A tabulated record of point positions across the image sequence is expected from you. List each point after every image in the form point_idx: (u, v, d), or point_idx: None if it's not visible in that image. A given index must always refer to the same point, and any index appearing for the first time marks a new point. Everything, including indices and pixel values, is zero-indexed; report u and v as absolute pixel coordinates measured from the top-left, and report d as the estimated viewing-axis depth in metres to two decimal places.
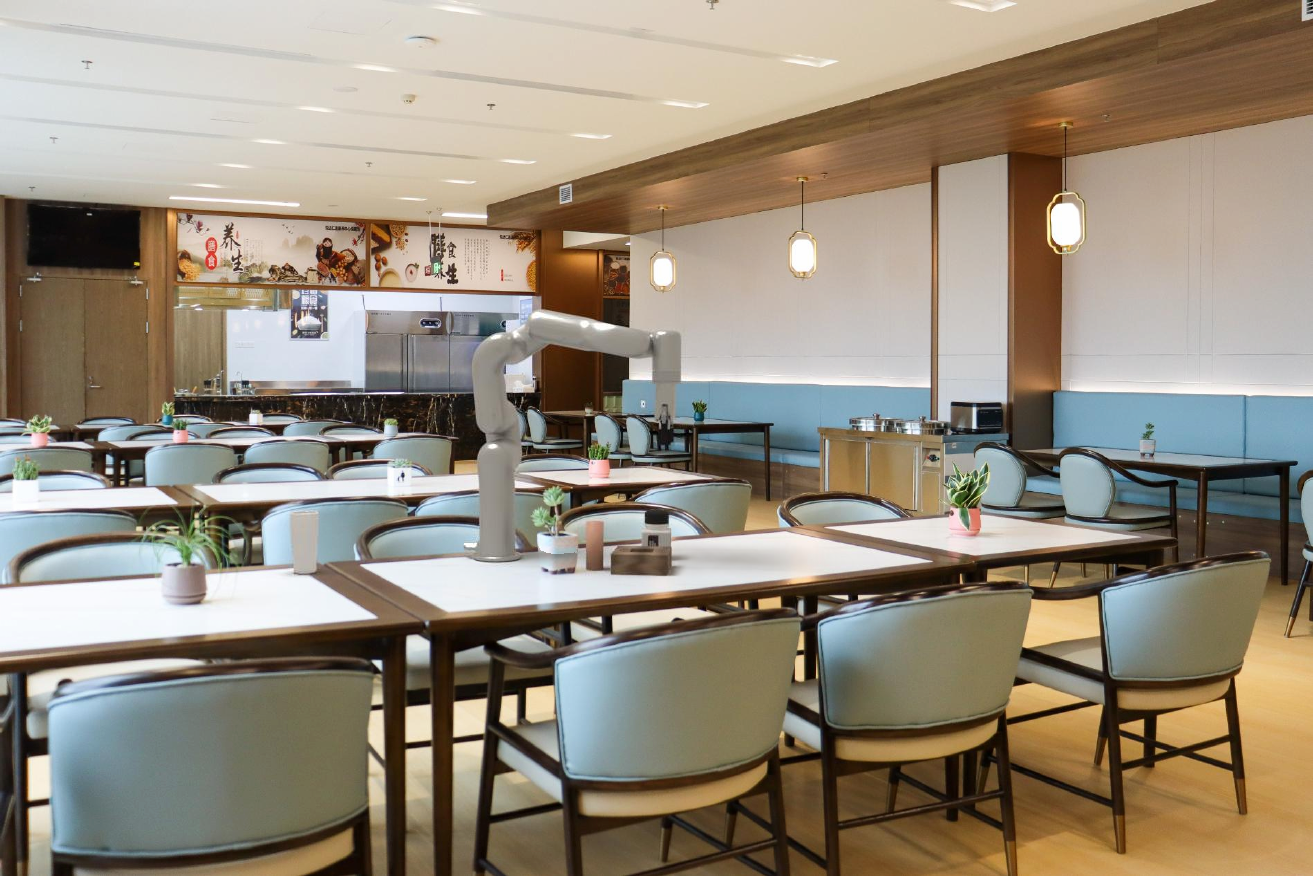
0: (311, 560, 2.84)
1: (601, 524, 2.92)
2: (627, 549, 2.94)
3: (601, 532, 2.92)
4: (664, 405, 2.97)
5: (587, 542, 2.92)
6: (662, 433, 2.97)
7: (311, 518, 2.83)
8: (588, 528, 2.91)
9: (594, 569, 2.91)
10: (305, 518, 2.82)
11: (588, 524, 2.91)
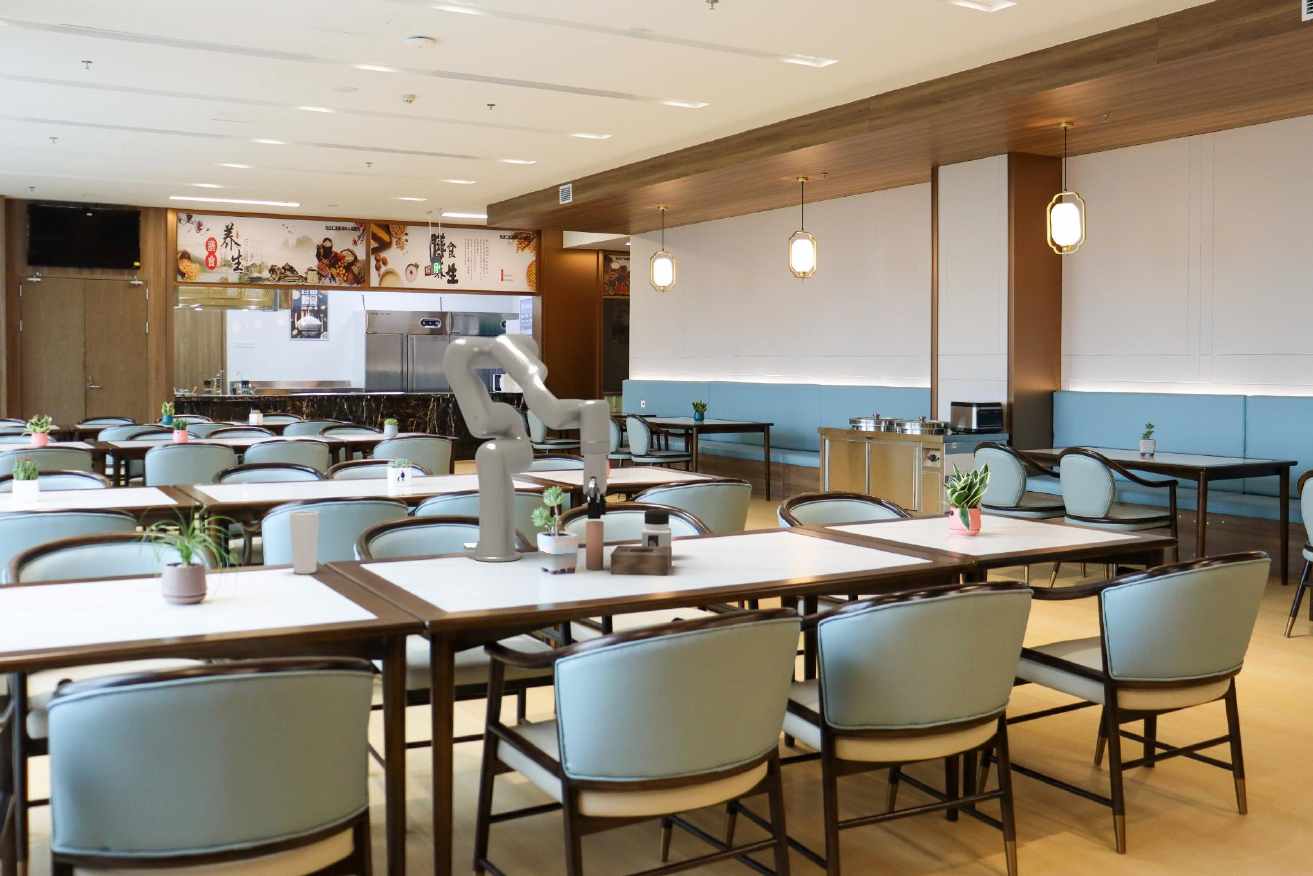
0: (311, 560, 2.84)
1: (601, 524, 2.92)
2: (627, 549, 2.94)
3: (601, 532, 2.92)
4: (593, 478, 2.87)
5: (587, 542, 2.92)
6: (591, 507, 2.87)
7: (311, 518, 2.83)
8: (588, 528, 2.91)
9: (594, 569, 2.91)
10: (305, 518, 2.82)
11: (588, 524, 2.91)
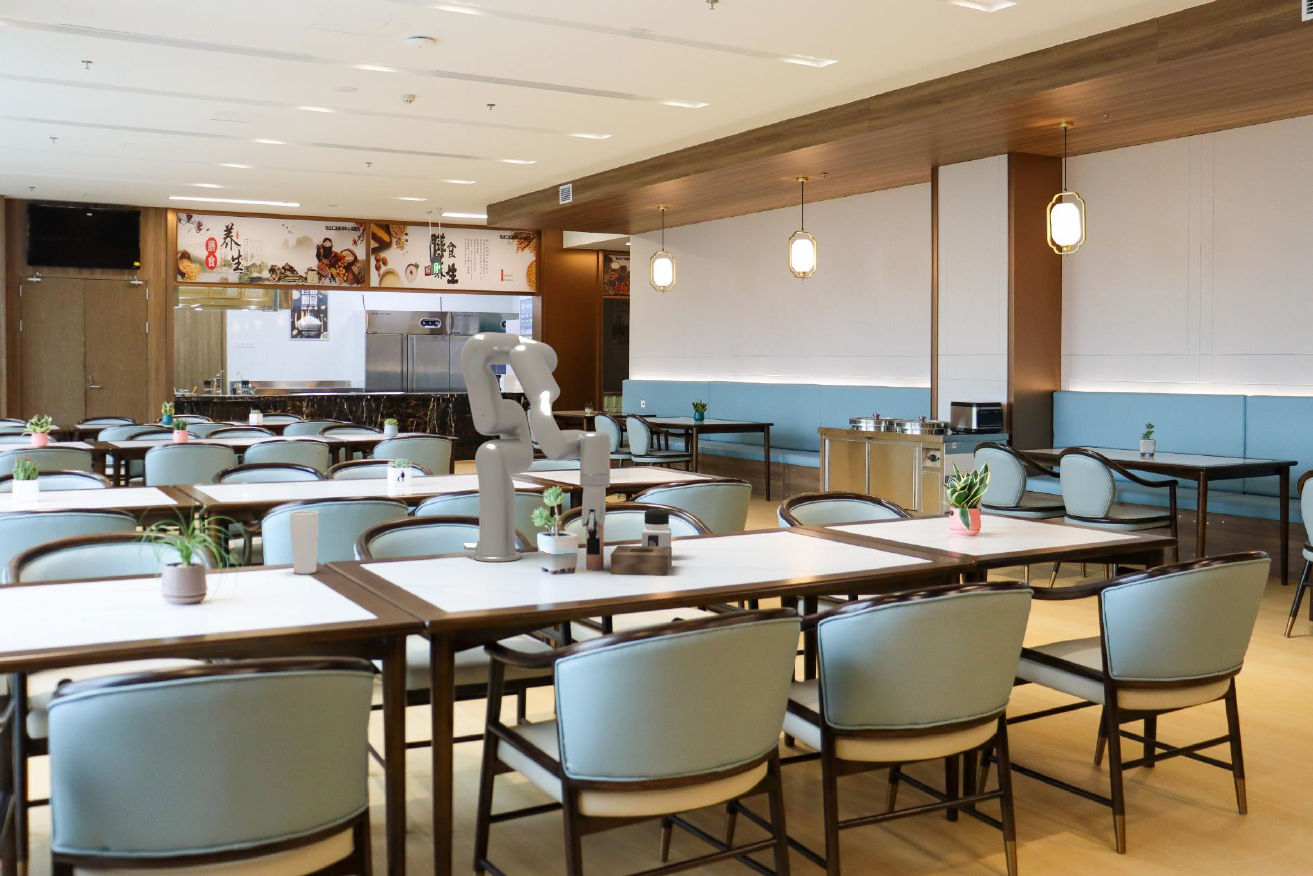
0: (311, 560, 2.84)
1: None
2: (627, 549, 2.94)
3: (601, 532, 2.92)
4: (591, 513, 2.88)
5: None
6: (590, 542, 2.90)
7: (311, 518, 2.83)
8: None
9: (594, 569, 2.91)
10: (305, 518, 2.82)
11: None
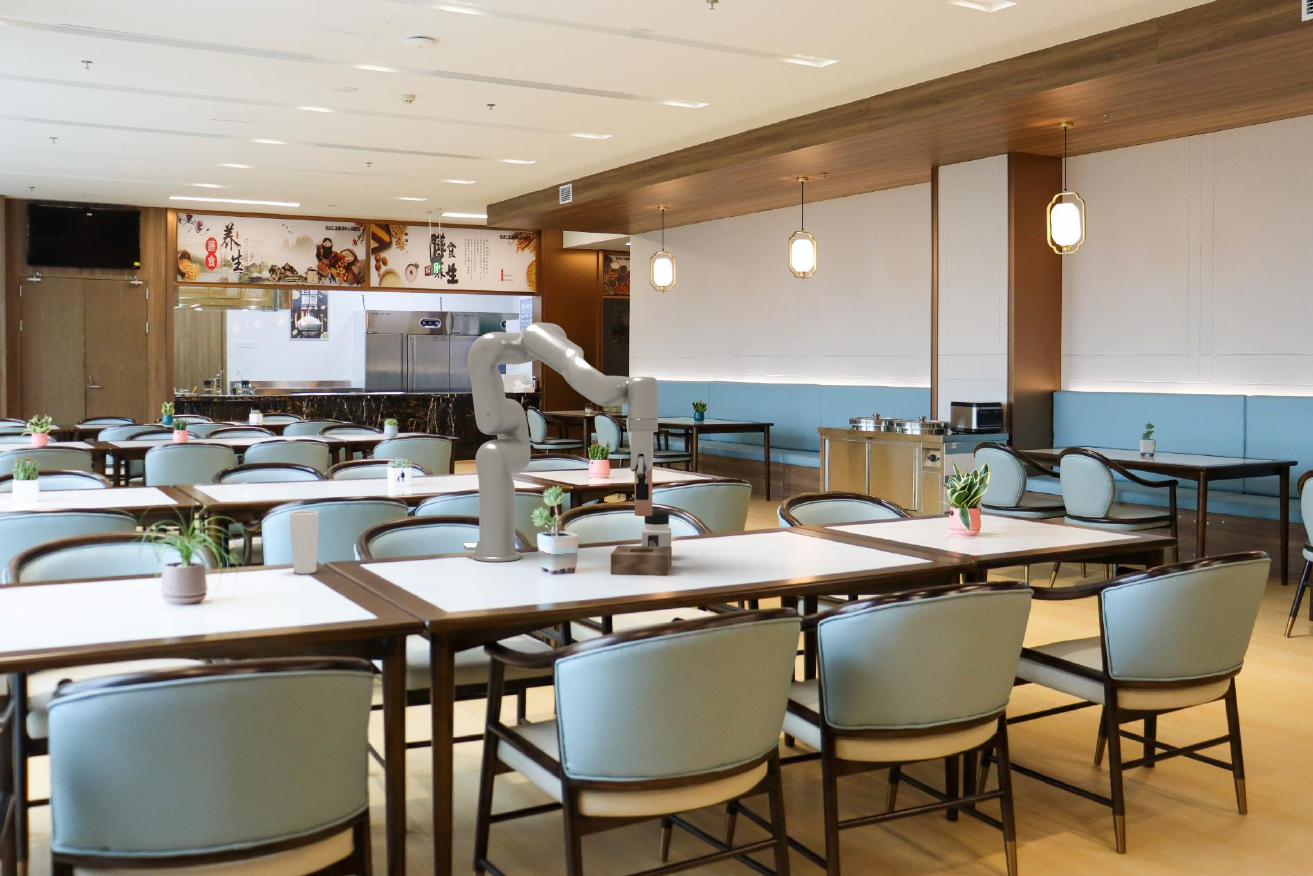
0: (311, 560, 2.84)
1: None
2: (627, 549, 2.94)
3: (650, 477, 2.90)
4: (640, 457, 2.86)
5: None
6: (639, 488, 2.88)
7: (311, 518, 2.83)
8: None
9: (643, 514, 2.89)
10: (305, 518, 2.82)
11: None
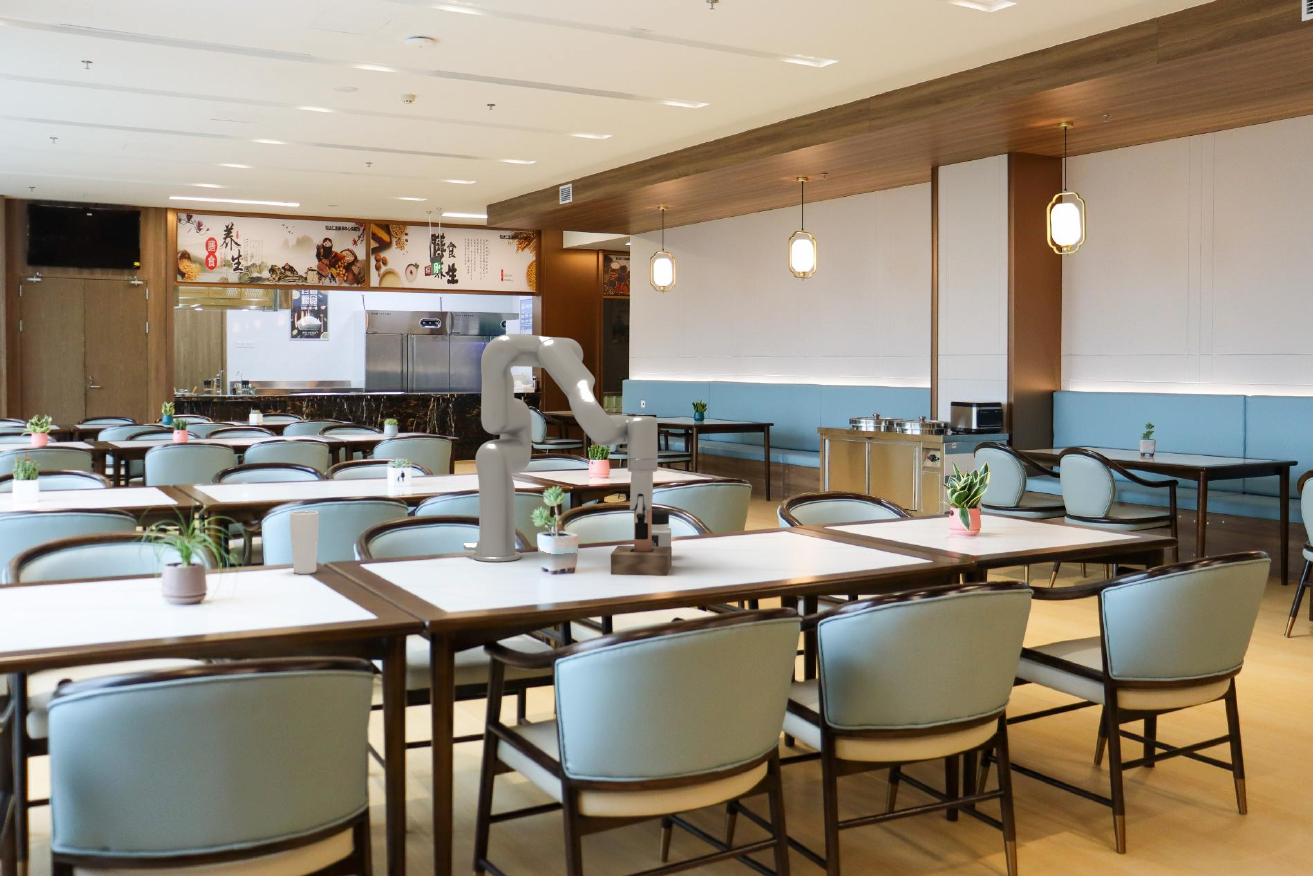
0: (311, 560, 2.84)
1: None
2: (627, 549, 2.94)
3: (649, 517, 2.90)
4: (640, 497, 2.87)
5: None
6: (639, 527, 2.88)
7: (311, 518, 2.83)
8: None
9: None
10: (305, 518, 2.82)
11: None
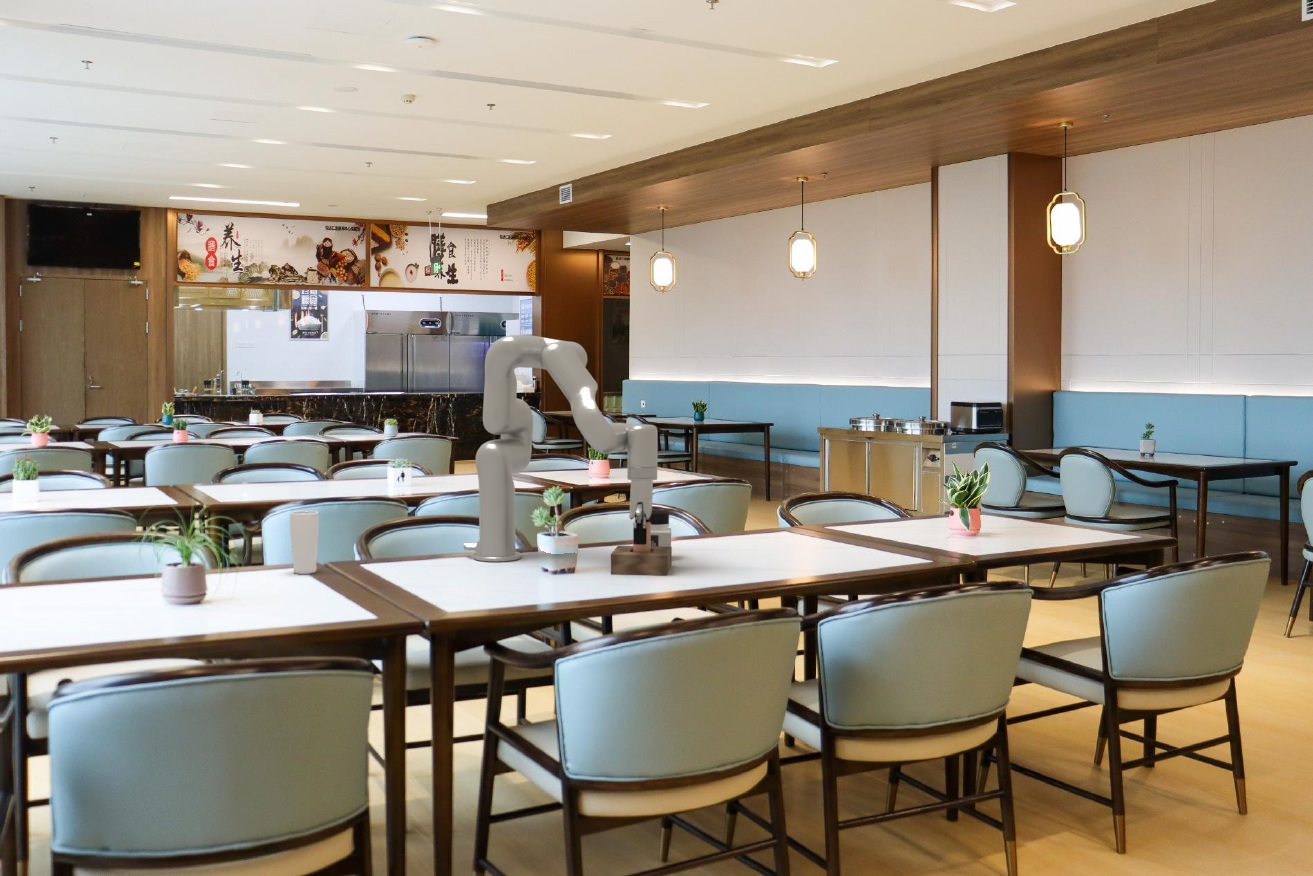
0: (311, 560, 2.84)
1: (648, 525, 2.90)
2: (627, 549, 2.94)
3: (648, 533, 2.91)
4: (639, 503, 2.86)
5: None
6: (637, 532, 2.86)
7: (311, 518, 2.83)
8: None
9: None
10: (305, 518, 2.82)
11: None
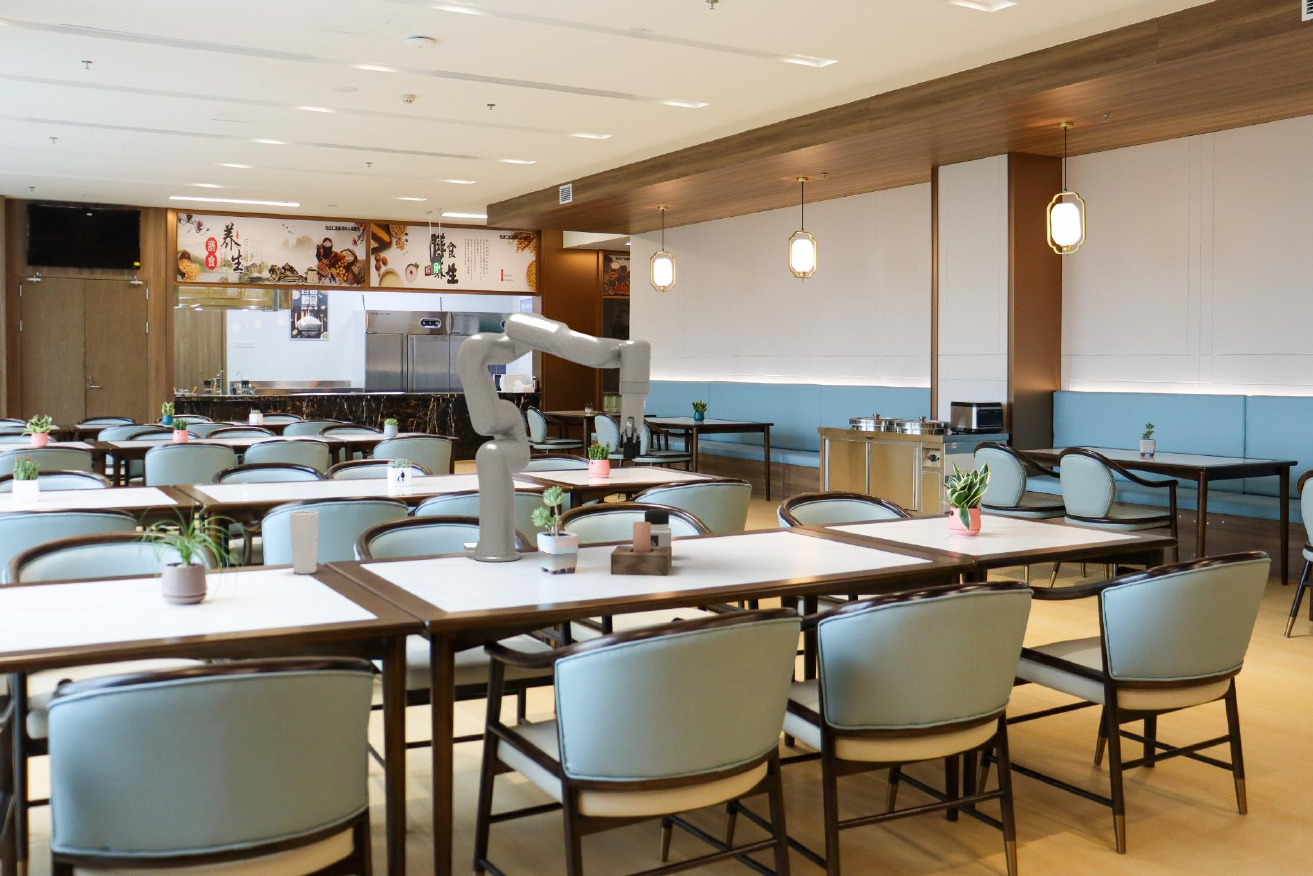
0: (311, 560, 2.84)
1: (648, 525, 2.90)
2: (627, 549, 2.94)
3: (648, 533, 2.91)
4: (630, 417, 2.87)
5: (634, 543, 2.91)
6: (627, 446, 2.86)
7: (311, 518, 2.83)
8: (635, 529, 2.90)
9: None
10: (305, 518, 2.82)
11: (635, 525, 2.90)
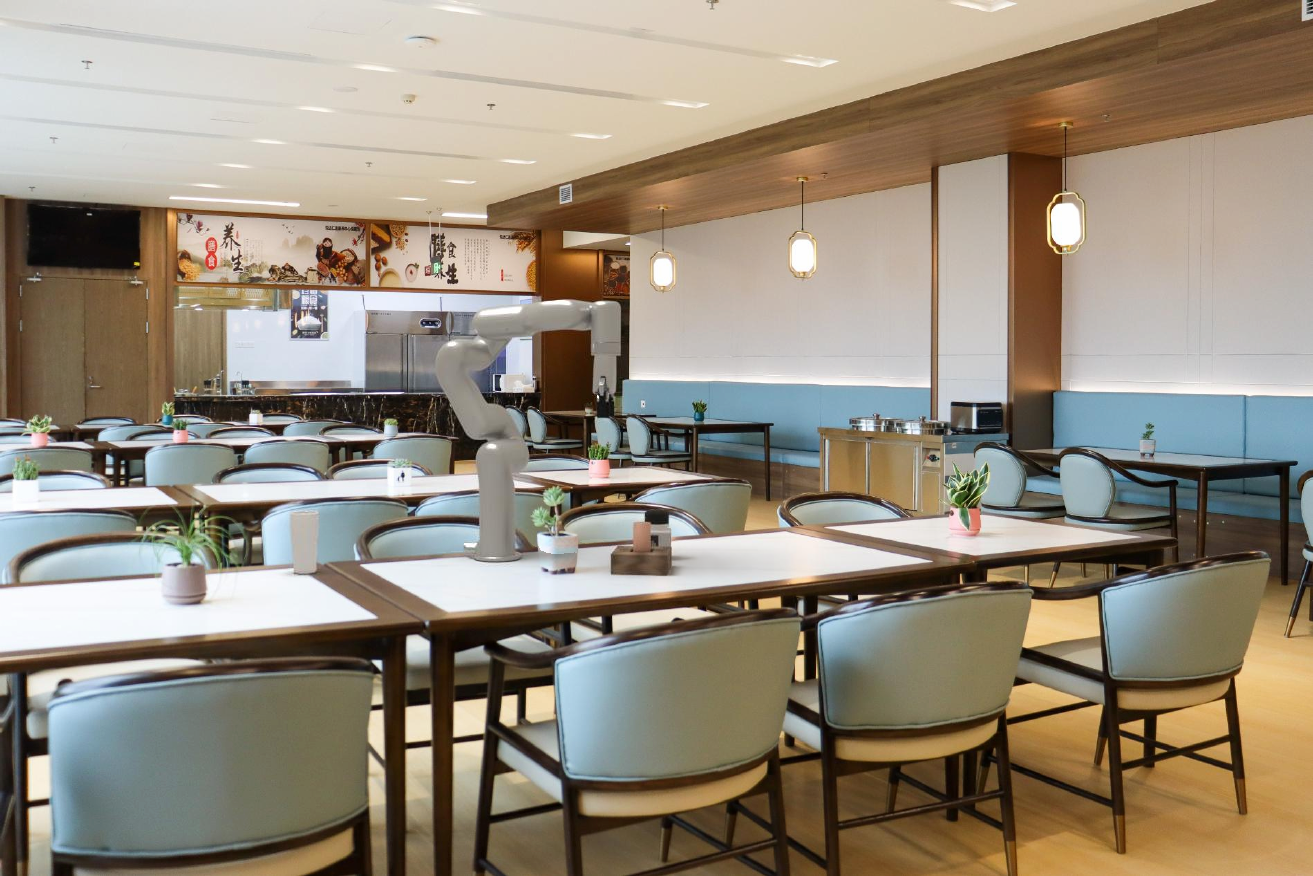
0: (311, 560, 2.84)
1: (648, 525, 2.90)
2: (627, 549, 2.94)
3: (648, 533, 2.91)
4: (602, 377, 2.90)
5: (634, 543, 2.91)
6: (600, 406, 2.90)
7: (311, 518, 2.83)
8: (635, 529, 2.90)
9: None
10: (305, 518, 2.82)
11: (635, 525, 2.90)
